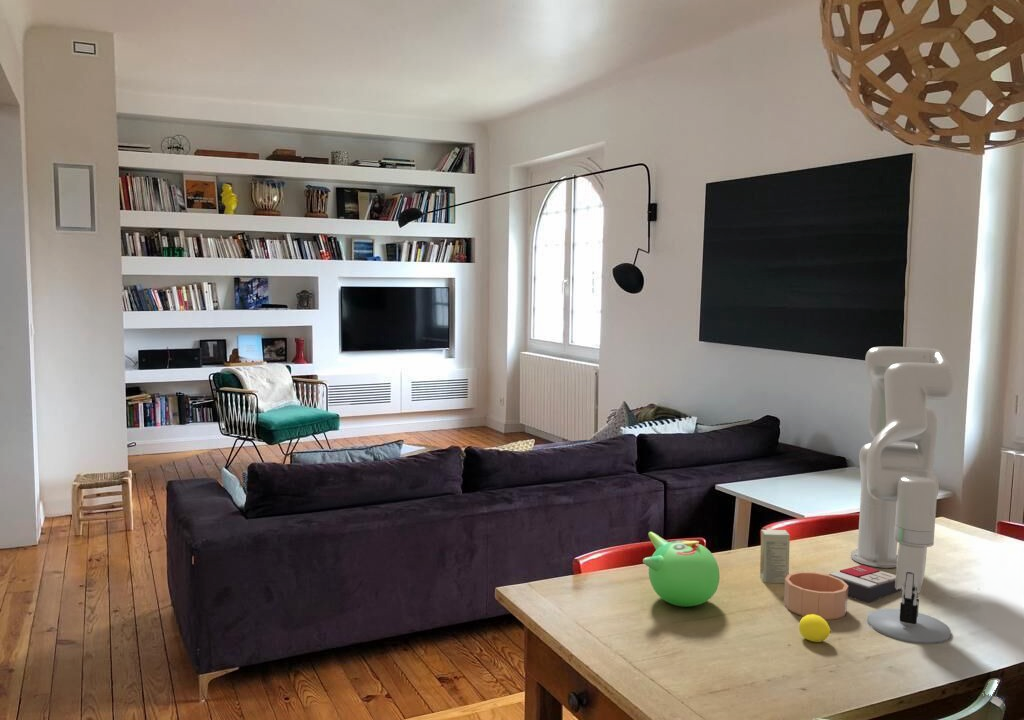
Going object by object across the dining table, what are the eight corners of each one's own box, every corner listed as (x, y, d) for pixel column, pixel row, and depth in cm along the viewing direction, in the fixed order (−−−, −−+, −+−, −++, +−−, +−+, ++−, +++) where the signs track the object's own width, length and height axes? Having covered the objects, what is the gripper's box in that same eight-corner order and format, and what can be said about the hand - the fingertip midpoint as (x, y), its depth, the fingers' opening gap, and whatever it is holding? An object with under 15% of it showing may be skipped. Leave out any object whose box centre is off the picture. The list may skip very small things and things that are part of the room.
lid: (871, 607, 187) (873, 582, 187) (951, 622, 180) (953, 596, 179) (863, 632, 173) (864, 605, 173) (949, 650, 166) (951, 622, 165)
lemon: (792, 640, 170) (790, 614, 170) (808, 634, 173) (806, 608, 173) (823, 648, 164) (821, 621, 164) (838, 642, 168) (836, 615, 168)
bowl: (791, 593, 195) (792, 568, 194) (850, 604, 188) (851, 579, 188) (778, 611, 184) (780, 585, 183) (841, 624, 177) (842, 597, 177)
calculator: (903, 576, 198) (869, 585, 189) (902, 593, 199) (868, 604, 190) (861, 563, 207) (826, 571, 198) (859, 579, 207) (825, 589, 198)
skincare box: (784, 577, 205) (787, 529, 204) (788, 584, 201) (791, 535, 200) (758, 576, 206) (760, 528, 205) (761, 582, 201) (764, 533, 200)
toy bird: (720, 621, 178) (722, 555, 176) (640, 613, 181) (642, 548, 180) (716, 591, 195) (719, 530, 194) (644, 584, 199) (646, 525, 197)
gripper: (898, 522, 184) (893, 603, 185) (890, 542, 169) (885, 628, 171) (936, 528, 180) (930, 610, 182) (931, 548, 166) (925, 637, 167)
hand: (908, 618), depth 176 cm, fingers closed on lid, 3 cm apart
